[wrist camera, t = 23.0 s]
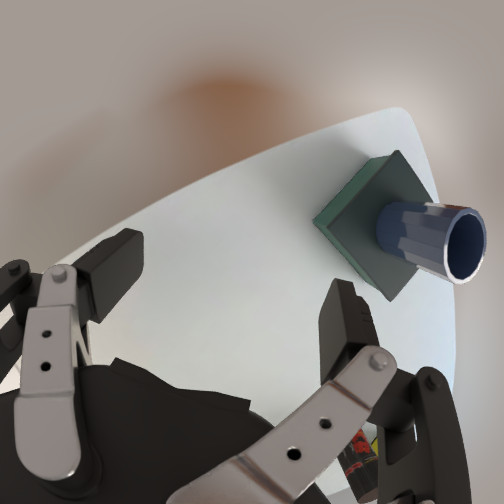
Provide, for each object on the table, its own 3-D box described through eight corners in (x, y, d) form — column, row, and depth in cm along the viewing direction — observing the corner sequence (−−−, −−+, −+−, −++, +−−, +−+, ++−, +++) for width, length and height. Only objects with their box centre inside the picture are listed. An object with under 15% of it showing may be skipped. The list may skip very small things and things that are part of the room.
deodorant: (322, 439, 39) (350, 503, 25) (346, 419, 39) (382, 482, 24) (342, 445, 41) (370, 503, 26) (365, 426, 40) (400, 483, 25)
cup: (370, 252, 26) (435, 281, 16) (381, 194, 25) (451, 199, 15) (412, 259, 27) (476, 286, 17) (422, 207, 26) (491, 217, 16)
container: (308, 221, 31) (328, 228, 25) (370, 154, 30) (398, 149, 24) (366, 285, 34) (390, 302, 28) (419, 222, 33) (448, 228, 27)
